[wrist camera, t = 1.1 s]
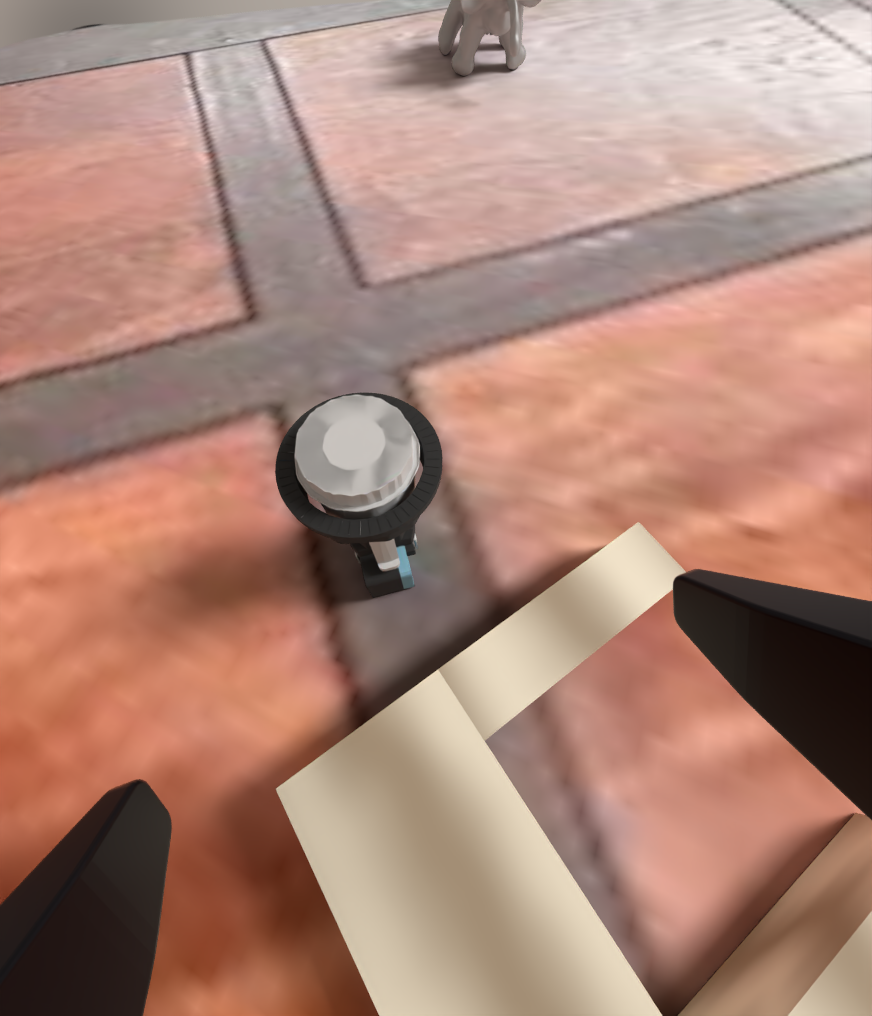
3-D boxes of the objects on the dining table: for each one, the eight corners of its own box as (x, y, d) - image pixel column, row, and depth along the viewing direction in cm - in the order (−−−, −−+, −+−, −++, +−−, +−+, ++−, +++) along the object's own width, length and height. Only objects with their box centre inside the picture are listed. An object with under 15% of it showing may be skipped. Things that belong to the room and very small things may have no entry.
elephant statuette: (494, 39, 45) (502, -83, 38) (571, 80, 41) (595, -51, 34) (420, 65, 43) (414, -59, 36) (492, 110, 39) (500, -22, 32)
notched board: (598, 1394, 12) (646, 1597, 9) (299, 775, 18) (275, 789, 15) (950, 918, 16) (1055, 962, 13) (613, 543, 22) (638, 521, 19)
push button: (323, 493, 23) (251, 360, 14) (418, 470, 24) (408, 329, 15) (345, 613, 21) (275, 546, 12) (451, 584, 21) (465, 499, 12)
